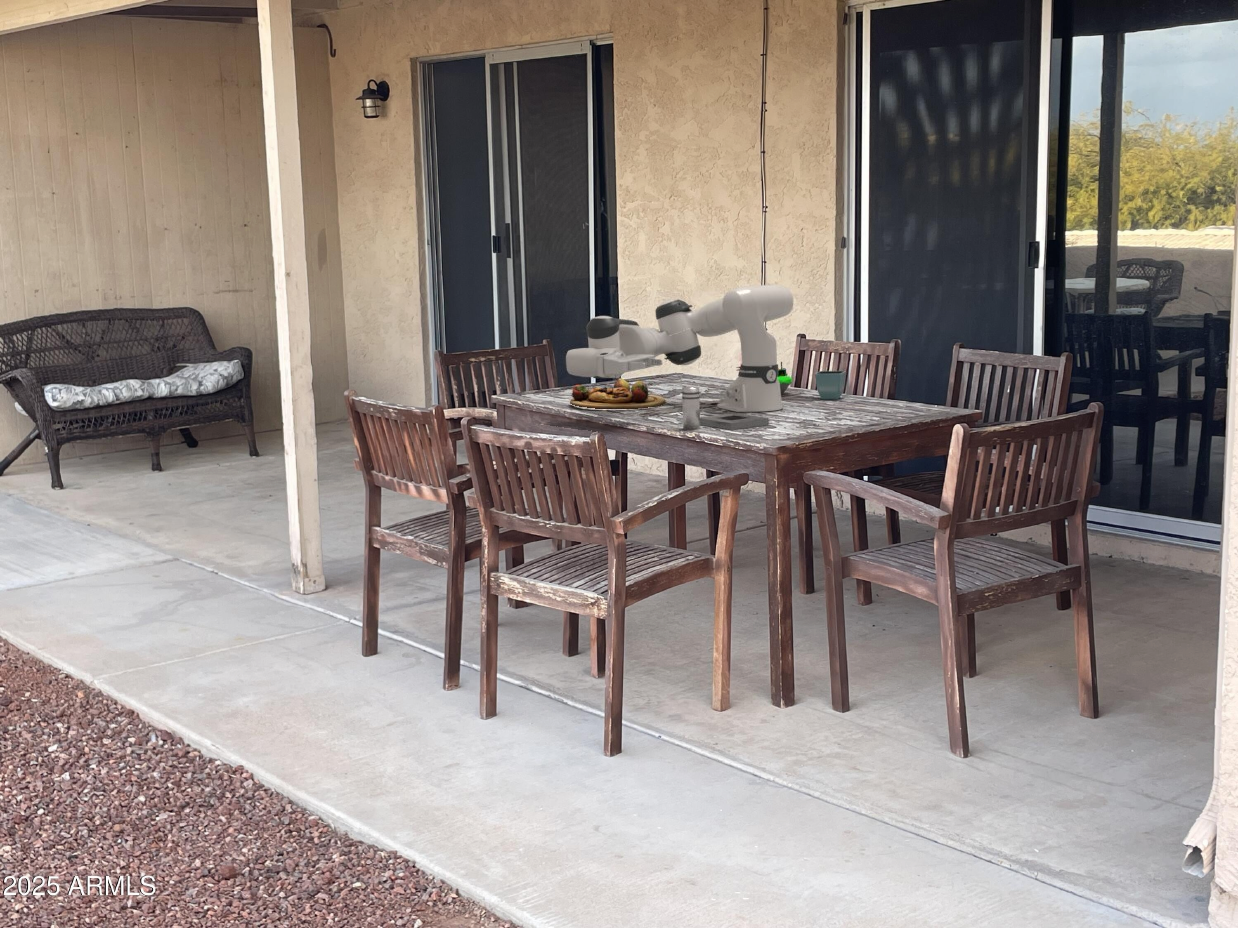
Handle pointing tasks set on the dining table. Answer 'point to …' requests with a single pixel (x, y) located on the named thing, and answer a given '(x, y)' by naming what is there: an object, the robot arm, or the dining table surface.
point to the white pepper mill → (691, 408)
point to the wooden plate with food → (616, 397)
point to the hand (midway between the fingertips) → (653, 364)
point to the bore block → (733, 421)
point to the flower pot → (830, 384)
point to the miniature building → (783, 379)
